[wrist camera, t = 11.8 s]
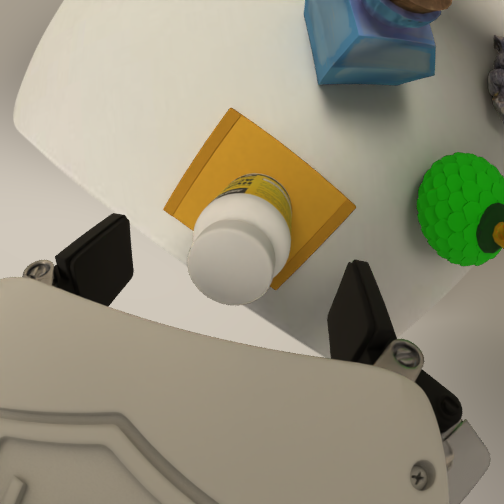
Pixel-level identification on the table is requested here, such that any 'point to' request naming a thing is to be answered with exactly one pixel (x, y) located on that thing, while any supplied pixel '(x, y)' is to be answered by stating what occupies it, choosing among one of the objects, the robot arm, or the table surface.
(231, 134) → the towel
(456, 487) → the robot arm
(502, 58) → the seashell
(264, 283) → the supplement bottle
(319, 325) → the table surface
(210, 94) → the table surface
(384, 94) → the table surface
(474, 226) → the ornament
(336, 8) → the perfume bottle
